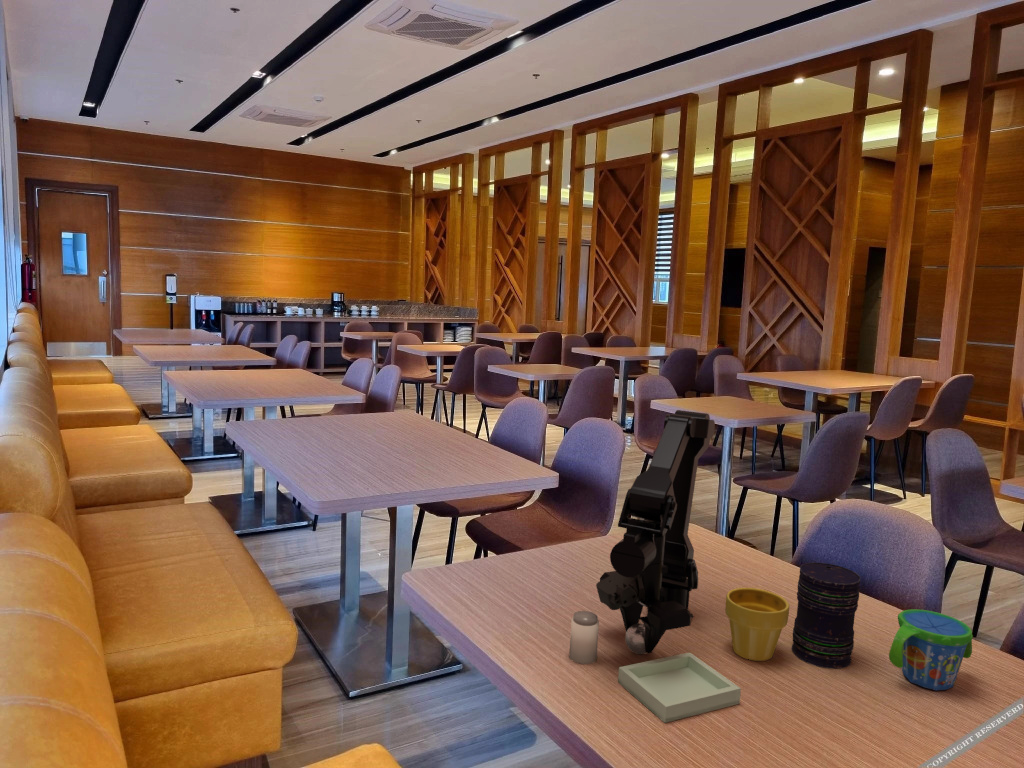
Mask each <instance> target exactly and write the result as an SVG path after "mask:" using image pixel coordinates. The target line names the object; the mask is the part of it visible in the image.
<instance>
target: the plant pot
mask: <svg viewBox="0 0 1024 768" xmlns="http://www.w3.org/2000/svg"><path fill="white" fill-rule="evenodd" d="M725 597H726V598H725V615H726V617H727V618H728V619H729V620H728V621H729V627H730V633H731V634H730V636H731V642H732V643H731V644H732V649H733V653H735V654H736V655H738V656H739V657H741V658H743V659H745V660H748V659H749V660H748V661H755V662H764V661H768V660H770V659H772V657H773V656H774V653H775V650H776V647H777V644H778V642H779V639H780V636H781V634H782V630H783V629H784V628H785V627H786V626H787V625H788V622H789V613H790V603H789V601H788V600H787V599H786V598H785V597H783V596H781V595H779V594H777V593H775V592H772V591H771V590H770V591H769V590H766V589H762V588H756V587H738V588H733V589H731V590H729V591H728V592H727V594H726V596H725Z"/></svg>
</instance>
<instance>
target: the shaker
mask: <svg viewBox="0 0 1024 768" xmlns="http://www.w3.org/2000/svg"><path fill="white" fill-rule="evenodd" d="M599 627H600V620H599V619H598V615H597V614H596V613H594V612H592V611H589V610H578V611H576V612H574V613H573V616H572V617H571V620H570V638H569V639H570V640H569V655H568V657H569V660H571V661H572V660H573V661H572V662H574V661H575V662H574V663H576V662H577V664H579V663H580V664H579V665H591V664H593V662H594V663H596V661H597V658H598V646H599V645H598V643H599ZM590 663H591V664H590Z"/></svg>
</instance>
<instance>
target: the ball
mask: <svg viewBox="0 0 1024 768" xmlns="http://www.w3.org/2000/svg"><path fill="white" fill-rule="evenodd" d="M624 638H625V644H626V646H627V649H629V650H630V651H631V652H632V653H634V654H637V655H644V654H647V653H646V650H645V625H644V623H642V622H641V623H640V622H639V623H638V624H634V625H632V626H631V627H629V629H628V630H627V632H626V631H625V637H624Z"/></svg>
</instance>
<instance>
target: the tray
mask: <svg viewBox="0 0 1024 768" xmlns="http://www.w3.org/2000/svg"><path fill="white" fill-rule="evenodd" d="M617 683H618V684H619V685H620V686H621V687H623V688H624V689H625V690H626V691H627V692H629V694H630V695H632V696H633V697H634V698H635V699H636V700H638V701H639V703H641V704H643V706H645V707H646V708H647V709H648V710H649V711H650V712H652V713H653V714H654V715H655V716H656V717H657V718H658V719H659V720H661V721H662V722H663V723H664V724H665V723H670V722H675V721H678V720H682V719H685V718H690V717H694V716H697V715H700V714H701V715H702V714H704V713H710V712H713V711H716V710H721V709H724V708H728V707H732V706H735V705H739V704H740V700H741V691H742V688H741V687H740V686H739V685H737V684H735V683H734V682H733V681H732V680H730V679H729V678H727V677H725V676H724V675H723V674H721V673H720V672H718V670H715V669H714V668H712V667H711V666H710V665H709V664H708V663H705V661H703V660H702V659H700V658H698V657H697V656H695V654H693V653H691V652H690V651H689V652H685V653H681V654H680V653H679V654H676V655H671V656H666V657H665V656H664V657H661V658H657V659H652V660H647V661H642V662H638V663H633V664H628V665H624V666H619V667H618V679H617Z"/></svg>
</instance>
